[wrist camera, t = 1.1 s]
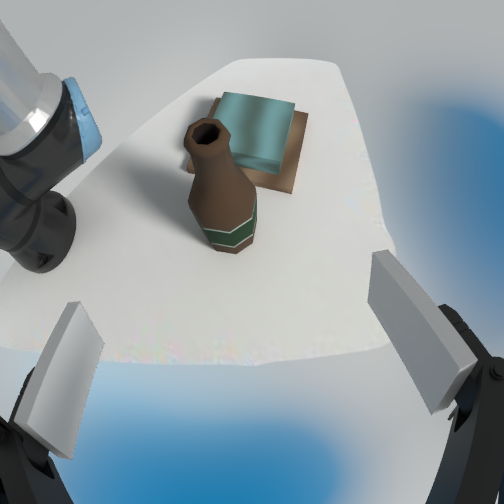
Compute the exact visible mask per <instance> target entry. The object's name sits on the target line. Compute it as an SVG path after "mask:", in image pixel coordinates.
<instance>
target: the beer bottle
mask: <svg viewBox="0 0 504 504" xmlns="http://www.w3.org/2000/svg"><path fill="white" fill-rule="evenodd" d="M230 138H231V134H230V132H229V131H228V129H227V128H226V127H225V126H224V125H223V124H222V123H221V121H220V120H219V119H209V118H202V119H200V120H198V121H197V122H195V123H193V124H191V125H190V126H189V127H188V130H187V133H186V135H185V138H184V147H185V148H186V150H187V151H188V152H189V154H190V155H191V159H192V163H193V167H194V171H195V178H194V181H193V185H192V188H191V192H190V195H189V199H188V203H189V206H190V209H191V211H192V213H193V214H194V216H195V218H196V220H197V222H198V223H199V225H200V227H201V229H202V230H203V232H204V234H205V235H206V237H207V238H208V240H209V241H210V243H211V244H212V245H213V247H214V248H215V250H216V251H221V252H226V253H232V254H237V253H239V252H240V251H241V250H243V249H244V248H246V247H247V246H249V245H250V244H252V243H253V238H254V233H255V228H256V222H257V193H256V188H255V186H254V185H253V183H252V182H251V181H250V180H249V178H248V177H247V176H246V175H245V173H244V172H243V171H242V170H241V168H240V167H238V166H237V165H234V161H233V157H232V153H231V150H230V146H229V142H230Z"/></svg>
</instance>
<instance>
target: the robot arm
mask: <svg viewBox="0 0 504 504" xmlns="http://www.w3.org/2000/svg"><path fill="white" fill-rule="evenodd" d="M101 144H102V136H101V134H100V132H99V129H98V127H97V125H96V123H95V121H94V118H93V116H92V114H91V112H90V110H89V108H88V106H87V104H86V101H85V99H84V97H83V95H82V93H81V91H80V89H79V86H78V84H77V82H76V80H75V78H73V77H69V78H68V79H64V80H63V81H61V80H60V79H59V78H58V77H57V76H56V75H55V74H52V73H42V74H39V73H38V72H37V70H36V69H35V67H34V66H33V65H32V63H31V62H30V61H29V59H28V58H27V57H26V56H25V54H24V53H23V51H22V50H21V49H20V47H19V46H18V45H17V43H16V42H15V40H14V39H13V38H12V36H11V35H10V33H9V32H8V31H7V29H6V28H5V26H4V25H3V23H2V22H1V20H0V249H2V250H5V251H7V252H9V253H10V254H11V255H12V256H13V258H14V259H15V260H16V261H17V262H18V263H19V264H20V265H21V266H22V267H24V268H25V269H27V270H29V271H32V272H36V273H46V272H49V271H51V270H53V269H54V268H55V267H57V266H58V265H59V264H60V263H61V262H62V261H63V259H64V258H65V256H66V255H67V253H68V251H69V249H70V247H71V245H72V242H73V239H74V235H75V230H76V216H75V211H74V208H73V206H72V204H71V203H70V201H69V200H68V199H66V198H65V197H63V196H62V195H61V194H60V193H58V192H55V191H50V189H52V188H53V187H54V186H55V185H56V184H57V183H59V182H60V181H61V180H62V179H63V178H65V177H66V176H67V175H69V174H70V173H71V172H72V171H74V170H75V169H76V168H78V167H79V166H80V165H82V164H84V163H85V162H86V160H87V159H88V158H89V157H90V156H91V155H93V154H94V153H95V152H96V151H97V150H98V149H99V148H100V146H101ZM368 304H369V305H370V307H371V308H372V310H373V312H374V313H375V315H376V317H377V318H378V320H379V322H380V323H381V325H382V327H383V328H384V330H385V332H386V333H387V335H388V337H389V338H390V340H391V342H392V343H393V345H394V347H395V349H396V351H397V352H398V354H399V356H400V358H401V359H402V361H403V363H404V364H405V366H406V368H407V370H408V372H409V374H410V376H411V377H412V379H413V381H414V383H415V385H416V387H417V389H418V390H419V392H420V394H421V396H422V398H423V400H424V402H425V404H426V406H427V408H428V410H429V412H430V413H431V415H433V414H435V413H437V412H440V411H442V410H444V409H446V408H448V407H449V405H450V404H451V402H452V401H453V399H455V401H456V403H457V406H456V407H455V409H454V410H453V411H452V413H451V414H450V415H449V418H448V420H450V419H451V418H452V417H453V421H452V425H451V429H450V433H449V437H448V440H447V444H446V448H445V451H444V454H443V458H442V461H441V463H440V467H439V469H438V472H437V475H436V478H435V481H434V483H433V486H432V489H431V491H430V494H429V496H428V499H427V501H426V503H425V504H495V502H496V499H497V495H498V491H499V497H498V504H504V359H503V358H501V357H492V356H491V355H490V354H489V353H488V351H487V350H486V348H485V347H484V346H483V345H482V343H481V342H480V341H479V339H478V338H477V337H476V335H475V334H474V333H473V332H472V330H471V329H469V327H468V325H467V324H466V323H465V322H463V319H462V318H461V317H460V316H459V314H458V313H457V312H456V311H455V310H453V309H452V308H451V307H449V306H447V305H446V304H443V305H441V306H437V305H436V304H435V303H434V302H433V301H432V299H431V298H430V297H429V296H428V295H427V293H425V291H424V290H423V289H422V287H421V286H420V285H419V284H418V283H417V282H416V281H415V279H414V278H413V277H412V276H411V275H410V274H409V272H408V271H407V270H406V269H405V268H404V267H403V266H402V265H401V264H400V262H399V261H398V260H397V259H396V258H395V257H394V256H393V255H392V254H391V253H390V252H389V250H383V251H378V252H373V253H372V265H371V276H370V285H369V294H368ZM104 344H105V343H104V342H103V340H102V338H101V337H100V335H99V333H98V332H97V330H96V328H95V327H94V325H93V323H92V321H91V320H90V318H89V316H88V314H87V313H86V311H85V309H84V307H83V305H82V303H81V301H79V302H71V303H68V304H67V306H66V308H65V309H64V311H63V313H62V315H61V317H60V319H59V320H58V322H57V324H56V326H55V328H54V330H53V332H52V334H51V336H50V338H49V340H48V342H47V344H46V346H45V348H44V350H43V352H42V354H41V356H40V358H39V361H38V362H37V365H36V367H34V368H33V369H32V370H31V371H30V373H29V374H28V375H27V377H26V379H25V381H24V384H23V387H22V389H21V391H20V395H19V396H18V398H17V401H16V403H15V406H14V408H13V411H12V414H11V416H10V419H9V422H8V423H7V422H6V421H5V420H4V419H3V418H2V417H1V416H0V504H74V503H73V501H72V500H71V498H70V496H69V494H68V492H67V490H66V488H65V486H64V484H63V482H62V480H61V478H60V476H59V473H58V471H57V469H56V467H55V465H54V462H53V460H52V459H51V458H50V457H49V456H48V453H49V451H51V452H52V453H53V454H55V455H56V456H58V457H61V458H65V459H70V460H72V459H73V454H74V449H75V444H76V440H77V436H78V432H79V427H80V424H81V420H82V416H83V412H84V408H85V405H86V401H87V397H88V394H89V391H90V387H91V384H92V380H93V377H94V374H95V371H96V368H97V364H98V361H99V358H100V355H101V352H102V349H103V346H104Z"/></svg>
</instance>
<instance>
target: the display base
mask: <svg viewBox="0 0 504 504" xmlns="http://www.w3.org/2000/svg"><path fill="white" fill-rule="evenodd" d="M294 107H295V103H290V102H285V101H280V100H275V99H269V98H264V97H258V96H251V95H245V94H238V93H230V92H224V93H223V96H222V98H216V99H215V102H214V104H213V106H212V108H211V111H210V113H209V115H208V117H207V118H209V119H219V120H220V121H221V123H222V124H223V125H224V126H225V127H226V128H227V129H228V131H229V132H230V134H231V138H230V142H229V146H230V150H231V153H232V157H233V161H234V165H237V166H238V167H240V168H241V170H242V171H243V172H244V173H245V175H246V176H247V177H248V178H249V180H250V181H251V182H252V183H253V185H254V186H258V187H263V188H267V189H272V190H276V191H281V192H285V193H289V194H292V190H293V185H294V181H295V176H296V171H297V167H298V162H299V157H300V152H301V148H302V143H303V138H304V133H305V128H306V123H307V118H308V113H304V112H300V111H295V110H294ZM187 171H188V173H192V174H195V171H194V167H193V163H192V159H191V158H190V161H189V163H188V166H187Z"/></svg>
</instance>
